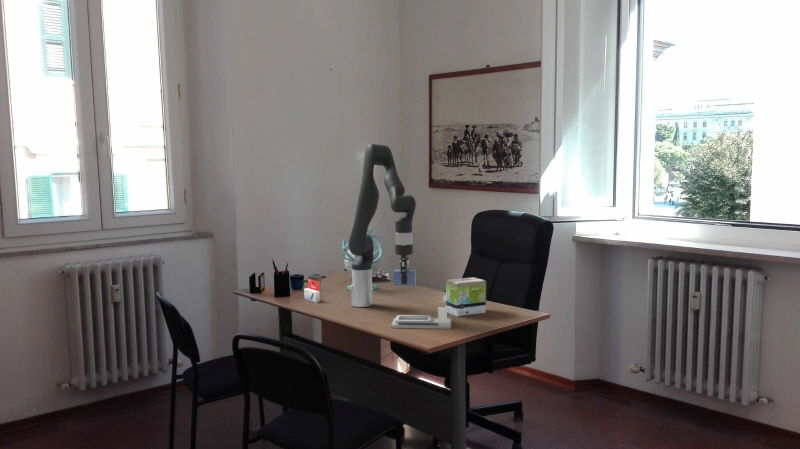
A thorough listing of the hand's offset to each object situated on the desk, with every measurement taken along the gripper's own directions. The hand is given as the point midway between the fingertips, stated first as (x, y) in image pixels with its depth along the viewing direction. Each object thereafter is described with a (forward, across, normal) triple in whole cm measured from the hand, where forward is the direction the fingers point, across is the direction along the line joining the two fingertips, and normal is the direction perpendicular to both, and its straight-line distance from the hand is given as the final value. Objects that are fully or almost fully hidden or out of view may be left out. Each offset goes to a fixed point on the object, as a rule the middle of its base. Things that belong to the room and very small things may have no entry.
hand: (404, 282), depth 278 cm
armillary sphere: (+15, -64, -28) cm, 71 cm away
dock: (+16, +9, +8) cm, 20 cm away
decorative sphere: (+15, -88, -32) cm, 94 cm away
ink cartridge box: (+15, -34, -48) cm, 61 cm away
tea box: (+16, -12, +26) cm, 33 cm away
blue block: (+1, 0, 0) cm, 1 cm away
